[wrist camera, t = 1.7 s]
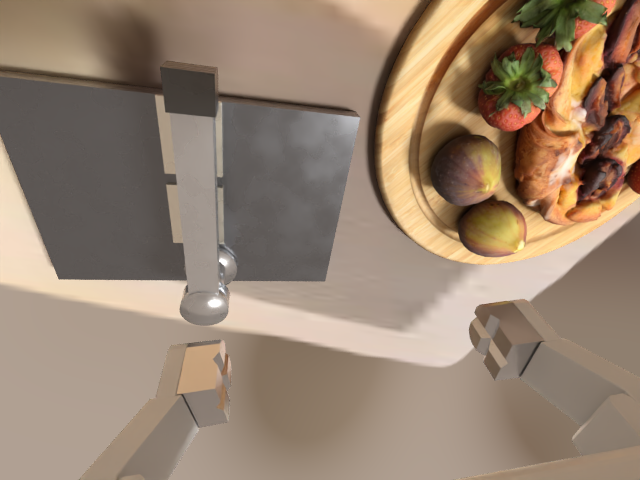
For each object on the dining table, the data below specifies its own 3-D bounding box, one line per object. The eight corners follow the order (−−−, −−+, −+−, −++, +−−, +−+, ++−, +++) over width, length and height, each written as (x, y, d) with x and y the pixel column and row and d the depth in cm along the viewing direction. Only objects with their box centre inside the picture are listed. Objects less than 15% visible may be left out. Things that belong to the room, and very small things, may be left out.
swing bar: (229, 309, 32) (228, 325, 31) (185, 309, 31) (181, 326, 30) (228, 68, 20) (225, 75, 19) (156, 59, 19) (147, 65, 18)
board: (-9, 68, 23) (-69, 87, 19) (355, 111, 28) (372, 133, 24) (67, 272, 34) (40, 313, 29) (321, 274, 39) (330, 310, 35)
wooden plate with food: (769, 62, 32) (903, 79, 25) (507, 287, 46) (549, 336, 39) (604, -277, 19) (791, -428, 12) (306, 182, 32) (317, 229, 26)
